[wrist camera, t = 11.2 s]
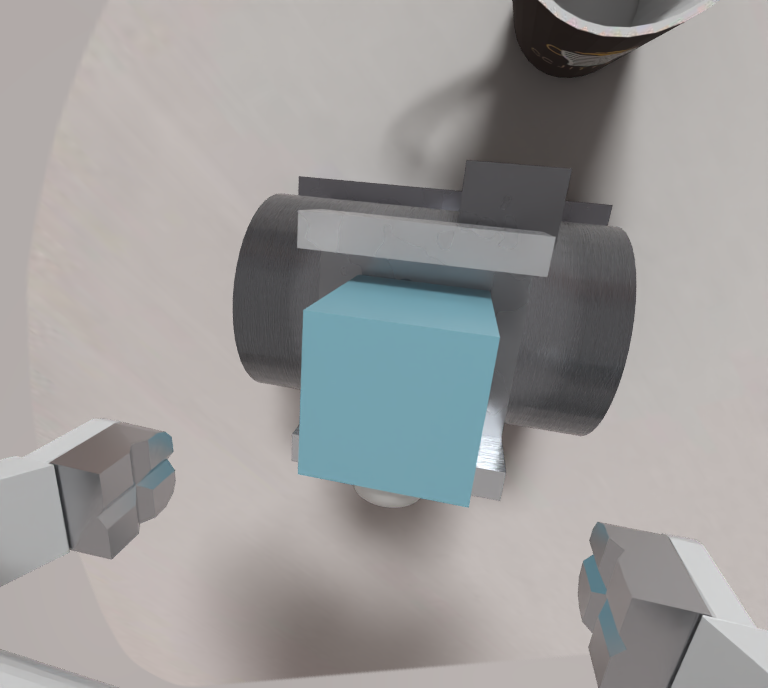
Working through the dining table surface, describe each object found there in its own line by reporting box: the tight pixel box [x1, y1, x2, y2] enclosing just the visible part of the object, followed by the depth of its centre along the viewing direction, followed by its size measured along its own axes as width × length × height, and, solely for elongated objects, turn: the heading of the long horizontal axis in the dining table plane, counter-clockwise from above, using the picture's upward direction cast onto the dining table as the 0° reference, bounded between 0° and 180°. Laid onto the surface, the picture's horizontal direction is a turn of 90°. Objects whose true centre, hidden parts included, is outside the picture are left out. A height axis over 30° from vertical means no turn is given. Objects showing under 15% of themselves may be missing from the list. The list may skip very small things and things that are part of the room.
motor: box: [233, 160, 636, 501], centre depth 22 cm, size 19×13×14 cm
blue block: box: [298, 275, 500, 508], centre depth 15 cm, size 5×6×6 cm
